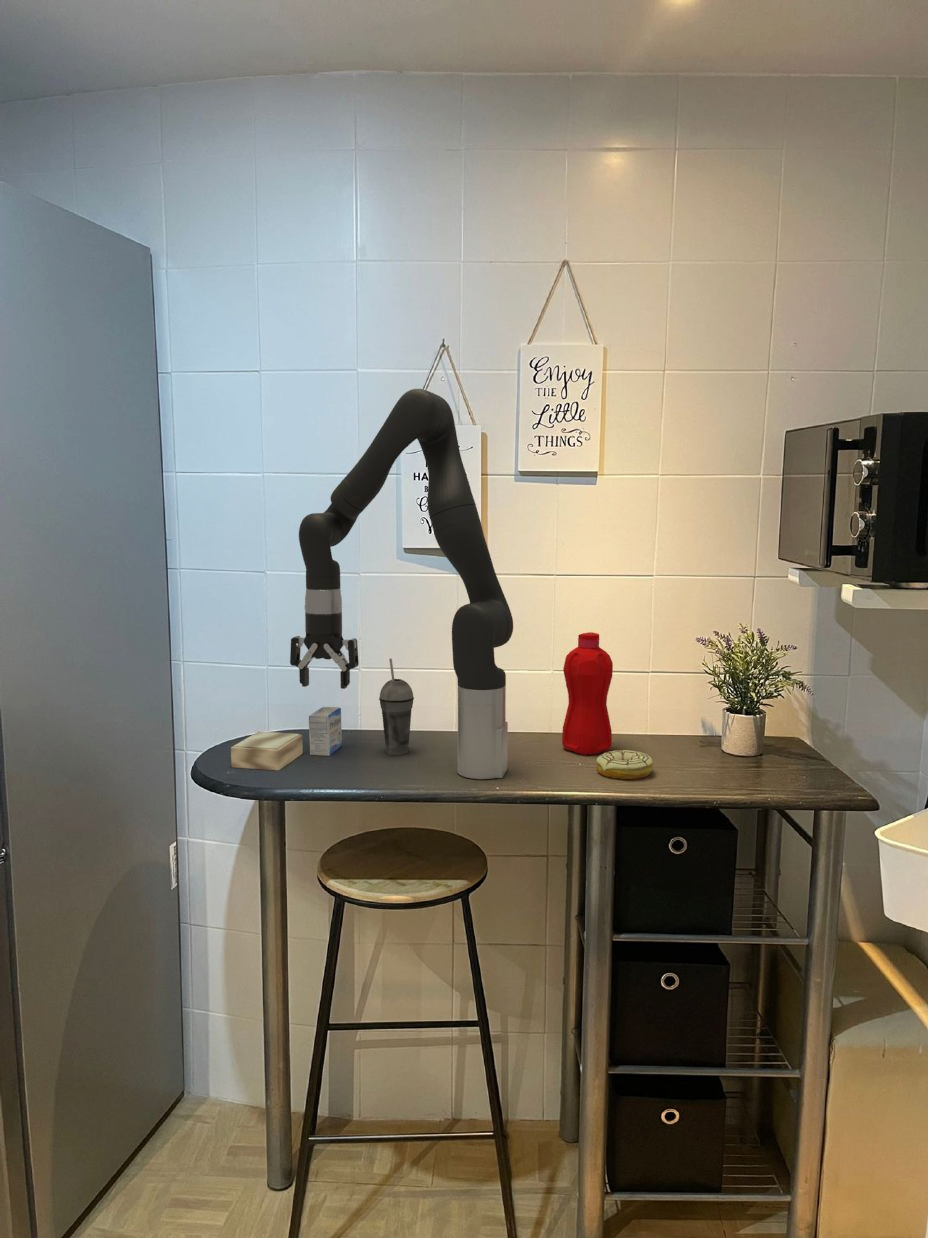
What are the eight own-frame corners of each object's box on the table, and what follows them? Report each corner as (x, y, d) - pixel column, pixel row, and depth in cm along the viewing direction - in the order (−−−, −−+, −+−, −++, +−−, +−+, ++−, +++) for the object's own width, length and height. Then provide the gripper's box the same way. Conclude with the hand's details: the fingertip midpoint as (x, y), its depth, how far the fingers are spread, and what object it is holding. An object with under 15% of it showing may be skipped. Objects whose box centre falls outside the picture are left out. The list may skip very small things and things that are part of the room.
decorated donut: (593, 765, 175) (594, 747, 174) (647, 766, 174) (648, 747, 174) (599, 781, 164) (599, 762, 164) (656, 782, 164) (657, 762, 163)
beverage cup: (419, 755, 181) (418, 660, 178) (385, 758, 178) (384, 662, 176) (408, 746, 188) (407, 654, 185) (375, 749, 185) (374, 656, 182)
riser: (302, 753, 182) (302, 733, 182) (278, 770, 170) (278, 749, 170) (258, 750, 184) (257, 731, 184) (231, 767, 173) (230, 746, 172)
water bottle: (580, 739, 193) (582, 627, 189) (617, 750, 184) (620, 633, 181) (550, 746, 187) (551, 631, 184) (586, 758, 178) (589, 637, 175)
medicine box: (329, 756, 180) (328, 715, 179) (309, 755, 181) (308, 714, 180) (342, 746, 188) (341, 707, 186) (322, 745, 188) (321, 706, 187)
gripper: (362, 609, 182) (362, 685, 185) (298, 606, 185) (299, 681, 188) (350, 613, 175) (350, 692, 177) (283, 611, 178) (285, 689, 180)
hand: (324, 687), depth 183 cm, fingers open, 8 cm apart
